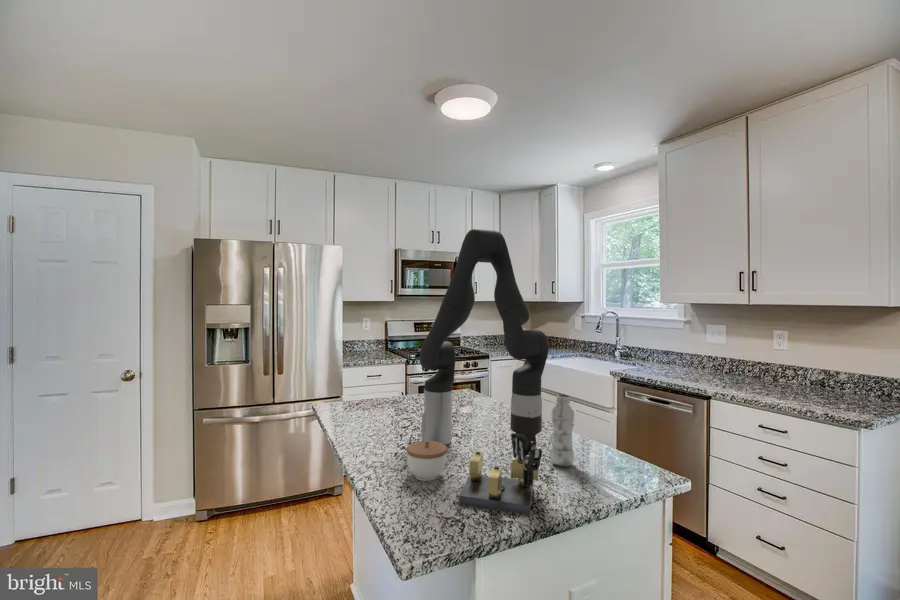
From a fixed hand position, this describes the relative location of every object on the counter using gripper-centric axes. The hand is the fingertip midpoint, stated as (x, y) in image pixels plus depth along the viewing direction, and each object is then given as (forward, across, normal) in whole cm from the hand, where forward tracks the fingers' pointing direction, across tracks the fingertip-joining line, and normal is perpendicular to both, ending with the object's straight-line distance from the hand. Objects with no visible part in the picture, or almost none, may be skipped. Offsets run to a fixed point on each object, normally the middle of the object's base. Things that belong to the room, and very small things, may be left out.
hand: (524, 481), depth 103 cm
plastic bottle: (+3, -15, +18) cm, 24 cm away
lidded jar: (+3, -15, -22) cm, 26 cm away
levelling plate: (+3, 0, -7) cm, 8 cm away
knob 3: (+1, 0, 0) cm, 1 cm away
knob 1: (+1, -6, -11) cm, 12 cm away
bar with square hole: (+1, +4, -9) cm, 10 cm away
